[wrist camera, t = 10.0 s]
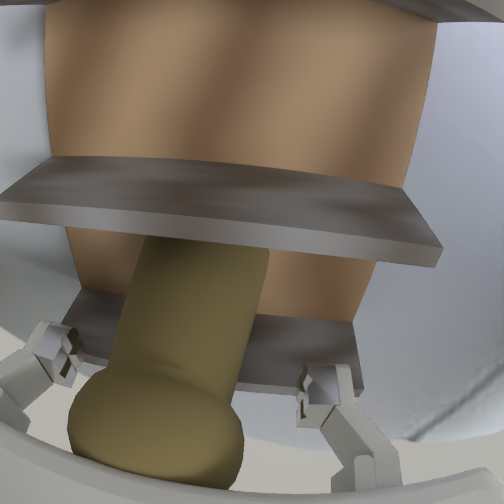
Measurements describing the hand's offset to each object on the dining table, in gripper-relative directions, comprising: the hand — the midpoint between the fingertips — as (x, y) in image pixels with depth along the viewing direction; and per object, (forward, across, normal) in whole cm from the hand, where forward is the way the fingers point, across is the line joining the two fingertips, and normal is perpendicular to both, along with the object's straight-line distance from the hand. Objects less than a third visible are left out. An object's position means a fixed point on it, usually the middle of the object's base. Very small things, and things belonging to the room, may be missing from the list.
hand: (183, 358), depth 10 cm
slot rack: (+7, 0, -4) cm, 8 cm away
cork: (+6, 0, 0) cm, 6 cm away
